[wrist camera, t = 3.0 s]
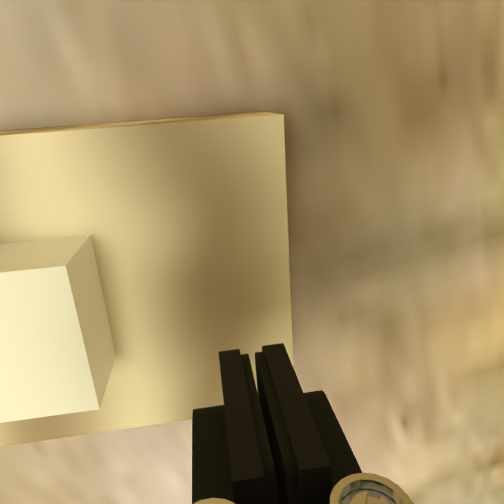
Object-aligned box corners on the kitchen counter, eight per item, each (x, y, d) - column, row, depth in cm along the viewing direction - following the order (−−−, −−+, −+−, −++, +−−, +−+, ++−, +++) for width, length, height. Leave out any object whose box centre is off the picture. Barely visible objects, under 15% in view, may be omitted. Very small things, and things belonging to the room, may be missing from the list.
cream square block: (90, 234, 15) (65, 265, 12) (116, 356, 16) (99, 409, 14) (-62, 249, 14) (-126, 286, 11) (-19, 373, 16) (-65, 432, 13)
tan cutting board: (261, 111, 19) (283, 114, 14) (274, 342, 23) (294, 404, 18) (-230, 148, 17) (-393, 165, 12) (-119, 393, 21) (-210, 476, 16)
